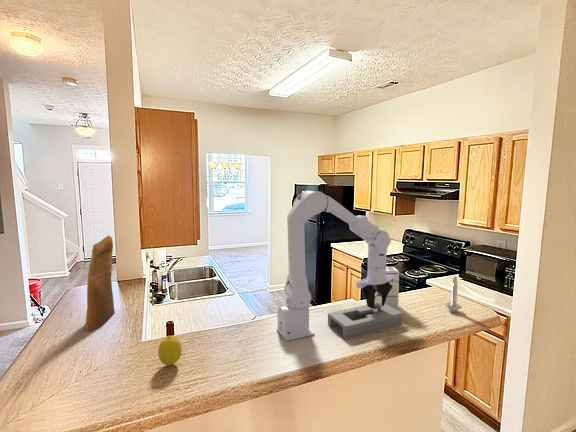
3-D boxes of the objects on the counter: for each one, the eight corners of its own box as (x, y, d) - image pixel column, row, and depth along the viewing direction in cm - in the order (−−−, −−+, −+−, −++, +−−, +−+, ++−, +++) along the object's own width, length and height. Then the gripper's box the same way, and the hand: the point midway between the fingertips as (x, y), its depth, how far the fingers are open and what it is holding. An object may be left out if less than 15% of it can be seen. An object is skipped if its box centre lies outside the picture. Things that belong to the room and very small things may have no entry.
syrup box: (398, 309, 110) (400, 270, 108) (382, 309, 110) (383, 270, 109) (393, 303, 116) (394, 266, 114) (378, 303, 116) (379, 266, 114)
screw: (452, 314, 106) (442, 309, 110) (464, 313, 107) (454, 308, 111) (454, 278, 104) (444, 274, 109) (466, 277, 105) (456, 273, 110)
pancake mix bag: (124, 307, 114) (119, 234, 110) (101, 332, 95) (93, 244, 92) (105, 309, 113) (99, 234, 109) (77, 334, 94) (69, 245, 91)
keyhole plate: (345, 339, 90) (345, 326, 89) (327, 324, 99) (327, 313, 99) (402, 324, 99) (402, 312, 98) (381, 312, 108) (381, 301, 107)
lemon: (174, 356, 82) (173, 328, 81) (186, 364, 78) (185, 334, 77) (155, 366, 77) (153, 336, 77) (166, 375, 74) (164, 344, 73)
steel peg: (374, 324, 98) (374, 297, 97) (366, 319, 102) (367, 293, 101) (384, 321, 100) (384, 295, 99) (376, 316, 103) (376, 291, 102)
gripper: (385, 260, 105) (384, 298, 107) (350, 265, 99) (350, 305, 101) (400, 265, 99) (399, 305, 100) (364, 271, 93) (363, 313, 94)
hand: (375, 305), depth 100 cm, fingers closed on steel peg, 4 cm apart
